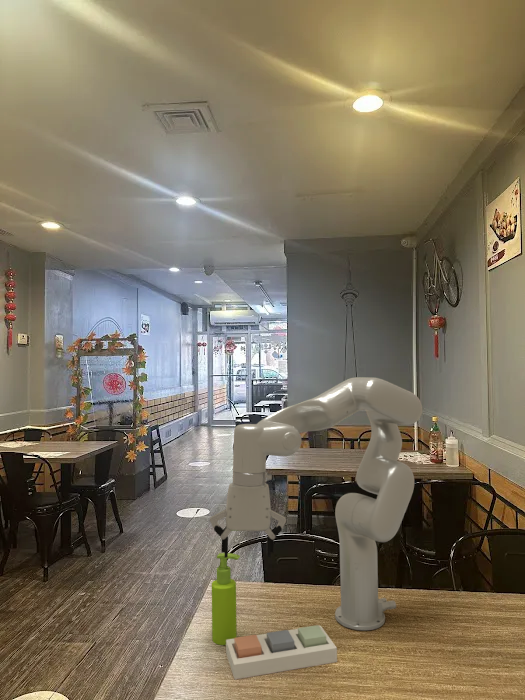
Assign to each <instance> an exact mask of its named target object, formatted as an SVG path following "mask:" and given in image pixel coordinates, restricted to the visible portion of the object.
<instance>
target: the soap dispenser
mask: <svg viewBox="0 0 525 700" xmlns="http://www.w3.org/2000/svg"><path fill="white" fill-rule="evenodd" d="M224 557H225V552H219V553H218V554H217V556H216V559H219V566H217V568H216V579H215V580H213V581H212V582H211V638H212V639H211V640H212V643H214V644H215V645H218V646H226V640H227V639H234V638H236V637H237V636H238V635H237V630H238V628H237V627H238V626H237V582H236V580H234V579H233V578H232V576H231V575H232V574H231V573H232V571H231V570H232V569H231V567H230V566H228V559H229V560H236V561H238V560H239V558H240V557H241V555H239V554H237V553H230V552H228V557H227V558H224Z"/></svg>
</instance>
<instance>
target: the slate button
mask: <svg viewBox="0 0 525 700" xmlns="http://www.w3.org/2000/svg"><path fill="white" fill-rule="evenodd" d="M288 630H289V629H284V630H276V631H271V632H267V633H266V634H267V643H268V645H269V647H270V650H271V652H272V653H276V652H282V651H288V650H294V640H293V638H292V636H291V635H290V633H289V631H288Z"/></svg>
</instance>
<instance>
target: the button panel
mask: <svg viewBox="0 0 525 700" xmlns="http://www.w3.org/2000/svg"><path fill="white" fill-rule="evenodd" d="M319 627H320V628H321V630H322V631H323V632H324V634H325V635H326V644H325V645H319V646H313V647H306V648H305V647H304V646H303V644H302V643H301V641H300V639H299V638H298V628H295V629H287V630H288V631H289V633H290V635H291V636H292V638H293V640H294V650H288V651H282V652H276V653H272V652H271V650H270V647H269V645H268V643H267V633H262V634H255V635H256V636H257V638H258V640H259V642H260V644H261V654H262V655H257V656H251V657H245V658H238V655H237V653H236V650H235V647H234V639H227V640H226V645H225V654H226V657H227V661H228V663H229V667H230V670H231V673H232V676H233V679H234V680H241V679H246V678H251V677H257V676H263V675H268V674H269V675H270V674H274V673H280V672H286V671H292V670H298V669H303V668H310V667H316V666H320V665H321V666H322V665H326V664H327V665H328V664H333V663H337V662H338V648H337V646H336V645H335V643H334V642H333V640H332V638H330V636H329V635H328V634H327V632H326V631H325V629H324V628H323V627H322V626H321V625H319Z"/></svg>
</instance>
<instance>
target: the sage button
mask: <svg viewBox="0 0 525 700" xmlns="http://www.w3.org/2000/svg"><path fill="white" fill-rule="evenodd" d="M319 626H320V625H319V624H317V625H316V624H315V625H310V626H309V625H308V626H303V627H298V628H297V629H298V638H299V639H300V641H301V643H302V644H303V646H304V647H305V648H306V647H313V646H319V645H325V644H326V635H325V634H324V632H323V631H322V630H321V628H320V627H319Z"/></svg>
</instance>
